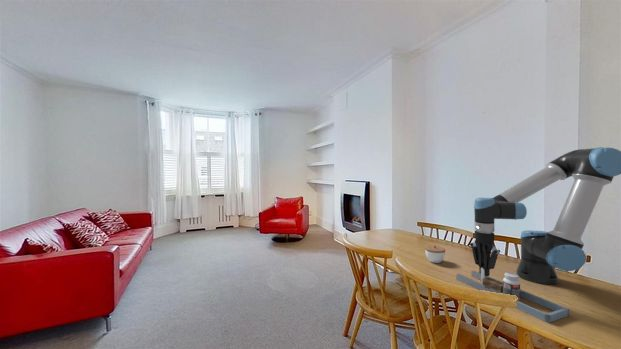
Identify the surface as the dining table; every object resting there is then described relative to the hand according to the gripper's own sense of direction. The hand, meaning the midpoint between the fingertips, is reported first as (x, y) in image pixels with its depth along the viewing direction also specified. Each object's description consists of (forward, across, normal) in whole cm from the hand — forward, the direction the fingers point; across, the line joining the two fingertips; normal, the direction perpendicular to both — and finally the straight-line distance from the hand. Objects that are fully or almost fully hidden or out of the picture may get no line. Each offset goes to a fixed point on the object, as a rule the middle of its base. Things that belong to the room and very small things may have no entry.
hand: (484, 281), depth 115 cm
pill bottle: (+2, +12, 0) cm, 12 cm away
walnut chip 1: (+2, +3, 0) cm, 3 cm away
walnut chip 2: (+2, +7, 0) cm, 7 cm away
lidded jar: (+2, -32, +3) cm, 32 cm away
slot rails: (+2, 0, 0) cm, 2 cm away
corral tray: (+2, +19, 0) cm, 19 cm away
